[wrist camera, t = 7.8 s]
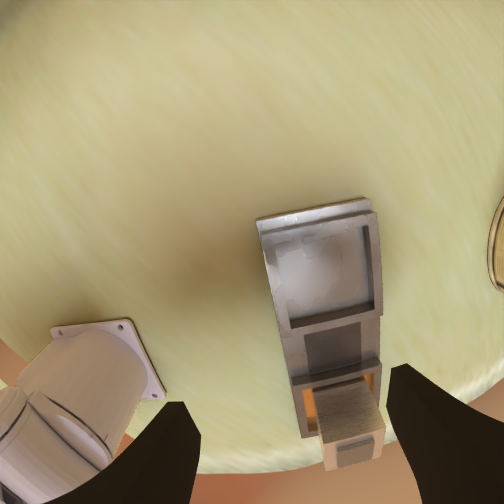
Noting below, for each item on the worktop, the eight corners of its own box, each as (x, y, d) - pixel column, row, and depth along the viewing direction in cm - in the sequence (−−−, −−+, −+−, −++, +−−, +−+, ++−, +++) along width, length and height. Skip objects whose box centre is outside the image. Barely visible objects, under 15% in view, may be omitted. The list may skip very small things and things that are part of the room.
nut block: (314, 414, 20) (326, 475, 14) (310, 382, 19) (324, 449, 13) (360, 403, 20) (381, 460, 14) (361, 370, 19) (388, 431, 13)
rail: (300, 430, 22) (302, 446, 20) (256, 218, 17) (255, 224, 15) (371, 413, 22) (377, 428, 20) (364, 197, 17) (377, 201, 15)
